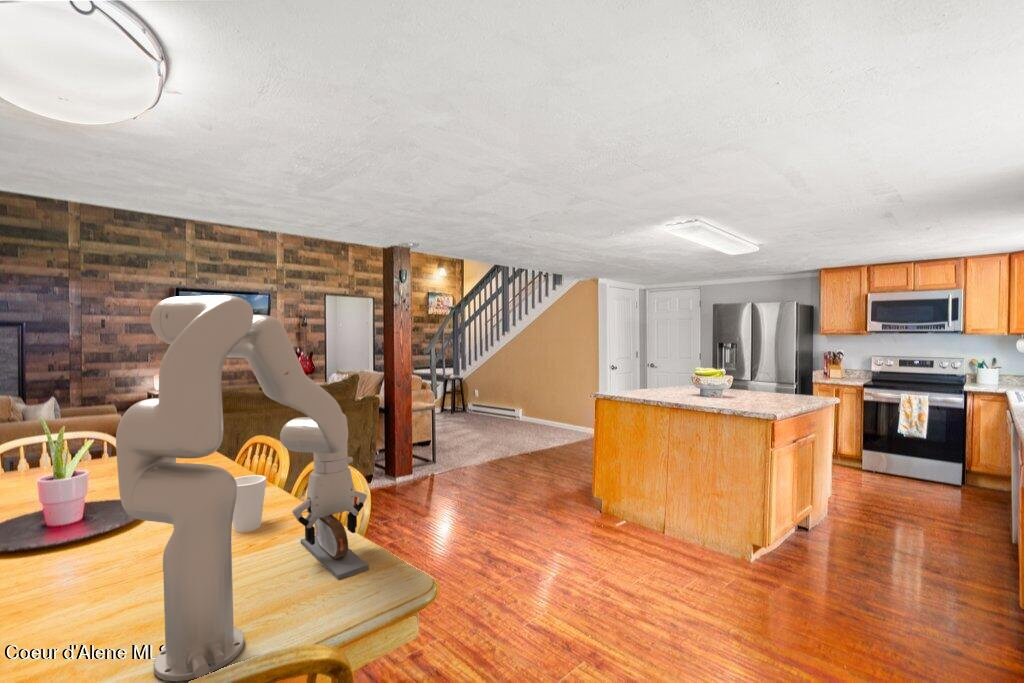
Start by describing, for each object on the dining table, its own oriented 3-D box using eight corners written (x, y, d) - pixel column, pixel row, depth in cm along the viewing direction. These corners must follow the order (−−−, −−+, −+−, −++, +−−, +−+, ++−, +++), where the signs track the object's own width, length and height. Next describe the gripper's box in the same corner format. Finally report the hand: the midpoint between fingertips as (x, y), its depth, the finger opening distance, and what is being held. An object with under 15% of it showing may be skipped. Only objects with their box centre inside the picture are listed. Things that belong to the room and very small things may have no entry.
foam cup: (274, 524, 136) (273, 477, 135) (243, 537, 127) (242, 487, 127) (251, 518, 140) (250, 473, 139) (219, 531, 131) (218, 483, 131)
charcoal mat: (368, 569, 110) (368, 564, 110) (337, 579, 105) (337, 575, 105) (328, 535, 128) (328, 531, 128) (300, 543, 123) (300, 539, 123)
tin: (349, 561, 112) (349, 524, 111) (336, 565, 109) (335, 528, 109) (325, 540, 123) (324, 506, 123) (312, 543, 121) (312, 509, 121)
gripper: (359, 456, 124) (359, 523, 125) (287, 469, 113) (288, 542, 113) (372, 461, 119) (373, 531, 119) (298, 476, 107) (299, 553, 108)
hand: (331, 537), depth 116 cm, fingers open, 9 cm apart
